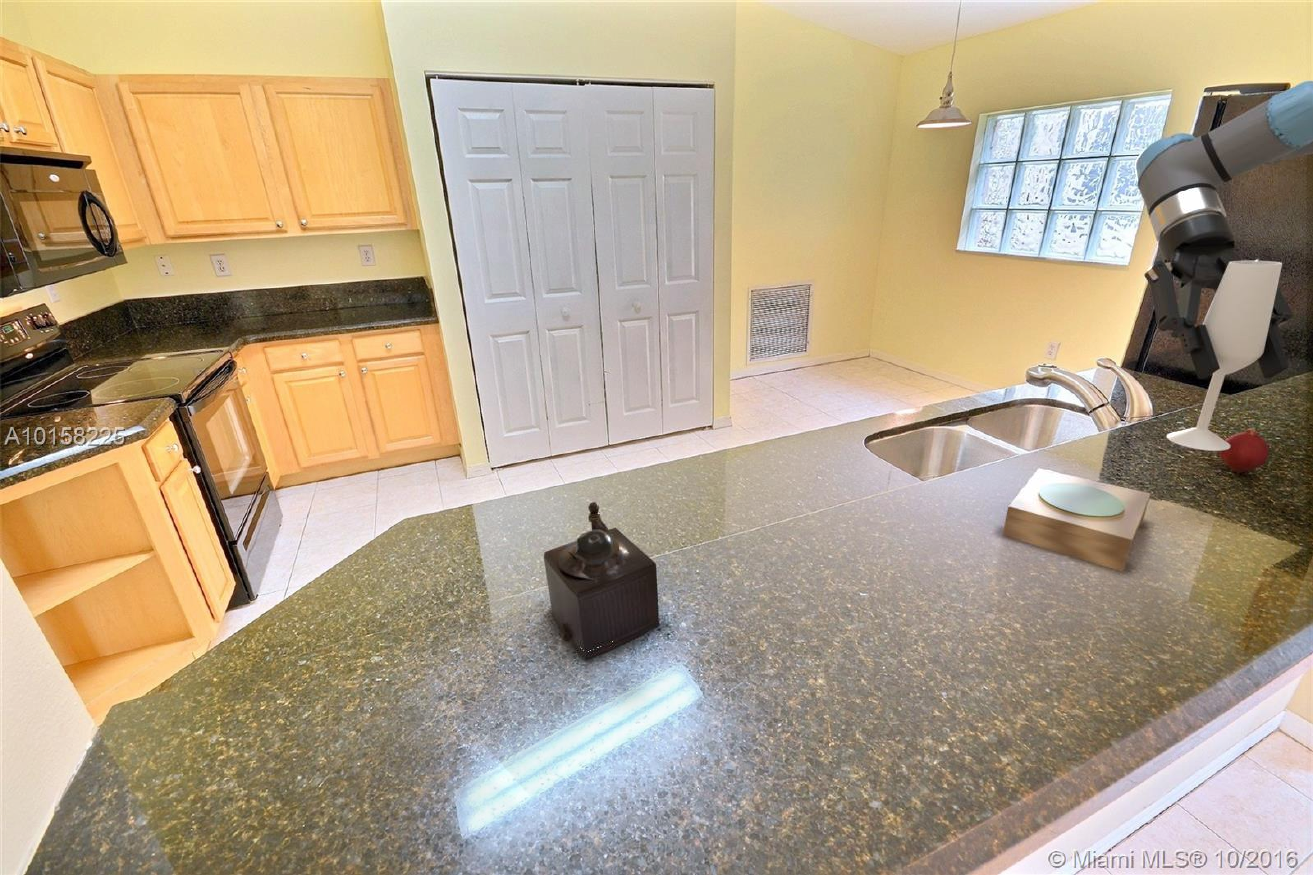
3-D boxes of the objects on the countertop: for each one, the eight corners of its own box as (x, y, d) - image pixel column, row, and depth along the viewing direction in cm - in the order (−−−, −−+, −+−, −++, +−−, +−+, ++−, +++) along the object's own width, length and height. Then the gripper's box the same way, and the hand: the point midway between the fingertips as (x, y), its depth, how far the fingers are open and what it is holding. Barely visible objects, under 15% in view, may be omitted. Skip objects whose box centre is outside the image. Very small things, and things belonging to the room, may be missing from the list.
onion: (1215, 462, 101) (1229, 419, 98) (1261, 471, 97) (1277, 426, 94) (1212, 473, 98) (1226, 429, 95) (1260, 483, 94) (1276, 437, 91)
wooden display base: (1142, 523, 85) (1151, 492, 83) (1122, 573, 74) (1132, 538, 72) (1033, 495, 94) (1039, 467, 92) (1002, 536, 84) (1008, 504, 82)
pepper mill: (545, 616, 73) (524, 490, 66) (621, 584, 78) (609, 464, 72) (600, 695, 61) (581, 549, 54) (686, 651, 66) (679, 513, 59)
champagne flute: (1237, 441, 80) (1300, 261, 71) (1221, 454, 76) (1285, 267, 67) (1176, 428, 85) (1227, 259, 76) (1158, 440, 81) (1210, 264, 72)
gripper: (1250, 245, 84) (1307, 386, 75) (1099, 252, 87) (1137, 387, 78) (1294, 207, 77) (1363, 356, 68) (1129, 215, 80) (1174, 359, 71)
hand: (1242, 373), depth 73 cm, fingers closed on champagne flute, 7 cm apart
